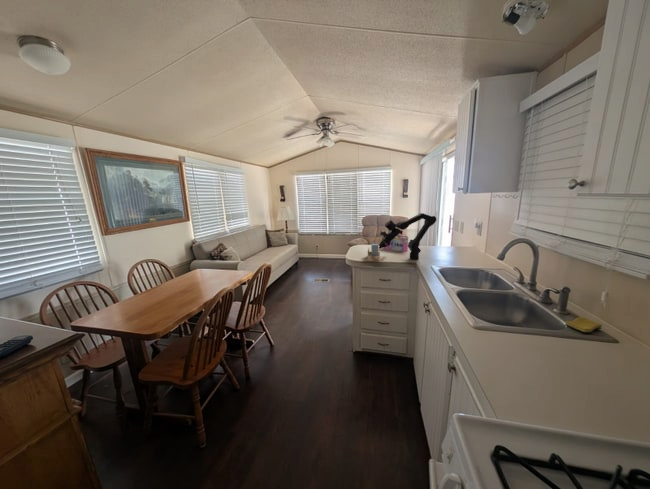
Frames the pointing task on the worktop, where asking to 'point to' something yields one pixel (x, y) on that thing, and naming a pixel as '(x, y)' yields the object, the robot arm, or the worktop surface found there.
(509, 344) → the worktop surface
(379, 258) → the kraft carton
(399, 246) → the gum box
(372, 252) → the slate block
